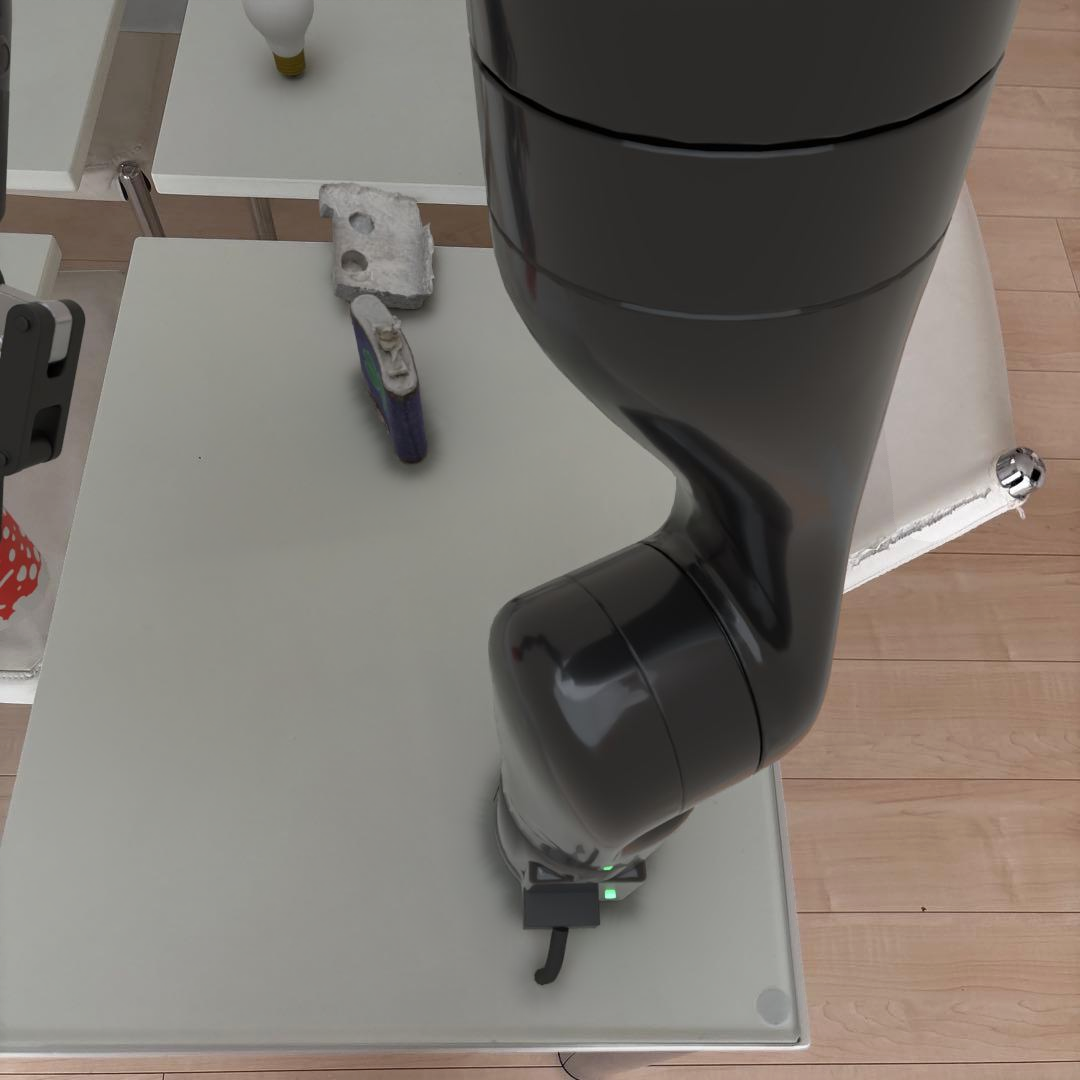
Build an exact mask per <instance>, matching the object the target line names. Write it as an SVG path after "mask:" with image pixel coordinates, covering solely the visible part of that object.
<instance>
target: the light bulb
mask: <svg viewBox="0 0 1080 1080" xmlns="http://www.w3.org/2000/svg"><path fill="white" fill-rule="evenodd" d="M241 2H242V7H243V10H244V13H245V15H246V17H247V20H248V21H249V22H250V24H251V25H252V26H253V28H254V29H255V30H256V31H257V32H258V33H259V34H261V35H262V36H263V38H264V39H265V41H266V44H267V46H268V47H269V49H270V50H271V52H272V55H273V59H274V62H275V67H276V69H277V72H278V73H280V74H282V75H283V76H289V77H296V76H298V75H299V74H301V73H303V72H304V71H305V69H306V67H307V66H306V65H307V64H306V57H305V49H304V47H305V41H306V33H307V31H308V28H309V26H310V24H311V23H312V20H313V18H314V17H313V16H314V12H315V11H314V10H315V0H241Z"/></svg>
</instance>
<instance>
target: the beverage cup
mask: <svg viewBox="0 0 1080 1080" xmlns="http://www.w3.org/2000/svg"><path fill="white" fill-rule="evenodd" d="M1 527H2V540H1V542H0V631H2V630H7V629H9V628H13V627H15V626H16V625H17V624H20V623H21V622H22V621H24V620H25V619H27V618H28V617H29V616H32V614H33V613H34V612H35V610H37V608H38V607H39V605H40V604H41V603H42V601H43V600H44V599H45V597H46V593H47V590H48V587H49V584H50V581H51V578H50V570H49V565H48V561H47V559H46V558H45V557H44V555H43V554H42V553H41V551H40V550H39V549H38V548H37V546H36V545H35V544H34V543H33V541H32V539H30V538H29V536H28V535H27V534H26V533H25V531H24V530H23V528H22V527H21V526H20V525H19V524H18V522H17V521H16V520H15V519H14V518H13V516H12V515H11V513H10V512H9V511H8V510H7V509H6V507H5V506H4V505H3V514H2V525H1Z"/></svg>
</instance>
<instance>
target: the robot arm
mask: <svg viewBox="0 0 1080 1080" xmlns="http://www.w3.org/2000/svg"><path fill="white" fill-rule="evenodd" d="M1020 3H1021V0H465V9H466V20H467V29H468V35H469V38H468V39H469V40H468V41H469V49H470V58H471V67H472V77H473V85H474V95H475V105H476V113H477V123H478V132H479V141H480V150H481V159H482V168H483V169H482V170H483V179H484V186H485V194H486V206H487V213H488V214H487V216H488V221H489V228H490V236H491V241H492V249H493V254H494V257H495V261H496V265H497V268H498V271H499V274H500V278H501V280H502V283H503V286H504V290H505V291H506V293H507V295H508V297H509V299H510V301H511V302H512V305H513V307H514V309H515V310H516V312H517V314H518V316H519V318H520V319H521V321H522V322H523V324H524V325H525V328H526V329H527V331H528V332H529V333H530V335H531V336H532V338H533V340H534V341H535V342H536V344H537V345H538V346H539V349H540V350H542V353H544V355H545V356H546V357H547V358H548V360H550V362H551V363H552V364H553V365H554V367H556V368H557V370H558V371H559V372H560V373H561V374H562V375H563V376H564V377H565V378H566V379H567V380H568V381H569V382H570V383H571V384H572V385H573V386H574V387H575V388H576V389H577V390H578V391H579V392H580V393H581V394H582V395H583V396H584V397H585V398H586V399H587V400H588V401H589V402H591V403H592V405H593V406H595V408H597V409H598V411H600V413H602V414H603V415H604V416H605V417H606V418H607V419H608V420H609V421H610V422H612V424H614V425H615V426H616V427H618V428H619V429H620V430H621V431H622V432H624V433H625V434H626V435H627V436H628V437H629V438H631V439H632V440H633V441H635V442H636V443H637V444H638V445H640V446H641V447H642V448H643V449H644V450H645V451H647V452H648V453H649V454H651V455H652V456H653V457H654V458H655V459H657V460H658V461H659V462H661V463H662V464H663V465H664V467H666V468H667V469H668V470H669V471H670V472H671V473H672V475H674V477H675V492H674V499H673V503H672V506H671V509H670V512H669V515H668V517H667V518H666V519H665V521H664V522H663V524H662V525H661V526H660V527H659V528H658V529H657V530H656V531H654V532H653V533H652V534H650V535H648V536H646V537H644V538H643V539H640V540H639V541H637V542H634V543H631V544H629V545H627V546H625V547H623V548H621V549H619V550H616V551H614V552H612V553H610V554H607V555H605V556H603V557H601V558H598V559H596V560H594V561H592V562H589V563H587V564H585V565H583V566H580V567H578V568H576V569H573V570H571V571H569V572H567V573H564V574H563V575H560V576H558V577H555V578H553V579H550V580H548V581H545V582H544V583H542V584H540V585H537V586H535V587H532V588H531V589H528V590H526V591H523V592H521V593H520V594H518V595H516V596H514V597H513V598H511V599H509V600H508V601H507V602H506V603H505V604H504V605H502V606H501V608H500V609H499V610H498V611H497V613H496V615H495V616H494V618H493V620H492V623H491V625H490V629H489V634H488V642H487V651H488V652H487V653H488V655H487V656H488V668H489V673H490V674H489V675H490V680H491V685H492V691H493V712H494V721H495V727H496V734H497V739H498V744H499V748H500V754H501V764H500V775H499V784H498V787H497V788H496V792H495V795H494V798H493V801H496V797H497V801H496V806H495V813H494V830H495V831H494V832H495V839H496V843H497V847H498V851H499V853H500V855H501V857H502V861H504V863H505V865H506V867H507V869H508V870H509V871H510V872H511V874H512V875H513V876H514V877H515V878H516V879H517V881H518V882H519V884H520V888H521V901H522V930H523V931H533V930H535V931H536V930H551V934H550V940H549V947H548V952H547V956H546V960H545V964H544V965H543V966H544V967H540V968H538V969H536V971H535V973H534V974H533V975H534V977H533V978H534V982H535V983H536V984H537V985H539V986H544V985H545V986H546V985H549V984H552V983H554V982H555V981H556V979H557V978H558V976H559V975H560V972H561V970H562V967H563V963H564V959H565V954H566V948H567V942H568V937H569V931H570V930H584V929H585V930H587V929H590V930H591V929H597V928H599V926H601V911H600V902H605V901H606V902H609V901H611V902H612V901H613V902H614V901H615V902H616V901H622V900H623V899H625V898H626V897H628V896H629V895H630V894H631V893H633V892H634V891H635V890H637V889H638V888H639V887H640V886H642V885H643V884H644V883H646V881H647V880H648V868H647V867H648V866H647V858H648V857H649V856H651V854H653V852H655V851H656V850H657V849H658V848H659V847H661V845H662V844H664V843H665V842H666V841H667V840H668V839H670V838H671V837H672V836H673V835H675V833H676V832H677V831H679V829H681V827H683V825H684V824H685V823H686V822H687V820H688V819H689V818H690V816H691V815H692V813H693V812H694V811H695V809H696V807H697V806H698V805H700V804H703V803H705V802H706V801H708V800H710V799H712V798H713V797H715V796H717V795H719V794H721V793H723V792H725V791H726V790H729V789H730V788H733V787H734V786H736V785H738V784H740V783H742V782H744V781H745V780H747V779H749V778H751V776H754V775H756V774H758V773H759V772H761V771H762V770H764V769H766V768H768V767H769V766H771V765H773V764H775V763H776V762H778V761H779V760H781V759H782V758H784V757H785V756H786V755H788V754H789V753H790V752H791V751H793V749H795V748H796V747H797V746H798V745H799V744H800V743H801V742H802V741H803V740H804V739H805V738H806V737H807V736H808V734H809V733H810V732H811V730H812V728H813V727H814V725H815V724H816V721H817V720H818V717H819V716H820V715H819V714H820V712H821V710H822V707H823V705H824V701H825V698H826V696H827V691H828V687H829V684H830V683H829V682H830V678H831V673H832V668H833V662H834V656H835V649H836V645H837V636H838V631H839V625H840V616H841V610H842V604H843V597H844V589H845V584H846V577H847V572H848V564H849V559H850V553H851V546H852V542H853V538H854V532H855V527H856V522H857V519H858V515H859V511H860V508H861V505H862V500H863V497H864V493H865V490H866V487H867V483H868V479H869V477H870V473H871V470H872V466H873V463H874V460H875V459H874V458H875V456H876V452H877V448H878V445H879V441H880V437H881V434H882V431H883V427H884V423H885V419H886V416H887V412H888V409H889V404H890V401H891V398H892V394H893V391H894V387H895V383H896V379H897V376H898V373H899V369H900V365H901V363H902V358H903V355H904V352H905V348H906V346H907V341H908V339H909V336H910V334H911V330H912V327H913V324H914V321H915V319H916V315H917V312H918V310H919V306H920V304H921V301H922V299H923V297H924V293H925V292H926V288H927V286H928V283H929V280H930V278H931V275H932V273H933V270H934V268H935V265H936V262H937V260H938V257H939V254H940V253H941V252H940V251H941V249H942V246H943V243H944V241H945V239H946V235H947V233H948V230H949V226H950V224H951V221H952V220H953V215H954V213H955V210H956V207H957V204H958V202H959V201H958V200H959V198H960V194H961V192H962V189H963V186H964V182H965V179H966V176H967V173H968V169H969V167H970V164H971V161H972V157H973V154H974V151H975V148H976V145H977V142H978V138H979V136H980V133H981V130H982V126H983V123H984V121H985V117H986V114H987V110H988V108H989V104H990V101H991V98H992V95H993V92H994V89H995V86H996V83H997V80H998V76H999V73H1000V70H1001V67H1002V64H1003V62H1004V59H1005V54H1006V53H1005V52H1006V49H1007V47H1008V44H1009V42H1010V39H1011V36H1012V33H1013V29H1014V25H1015V22H1016V18H1017V14H1018V11H1019V8H1020ZM12 33H13V0H0V223H1V222H2V221H3V218H5V214H6V210H7V207H6V206H7V182H8V180H7V179H8V155H9V154H8V153H9V151H8V149H9V127H10V126H9V125H10V96H11V91H10V88H11V87H10V85H11V64H12V63H11V59H12V58H11V57H12V38H13V37H12ZM85 327H86V313H85V311H84V309H83V308H82V306H81V305H80V304H79V303H78V302H77V301H75V300H73V299H70V298H63V299H43V298H41V297H38V296H36V295H33V294H31V293H28V292H25V291H23V290H20V289H18V288H15V287H12V286H10V285H7V284H6V281H5V277H4V275H3V273H2V270H1V269H0V542H1V540H2V527H1V525H2V514H3V506H4V485H5V484H4V482H5V477H9V476H12V475H16V474H18V473H20V472H22V471H23V470H26V469H29V468H31V467H34V466H38V465H40V464H44V463H49V462H51V461H54V460H56V459H58V458H59V457H60V455H61V454H62V451H63V448H64V447H63V446H64V440H65V436H66V430H67V425H68V420H69V413H70V408H71V402H72V397H73V392H74V386H75V381H76V376H77V370H78V365H79V358H80V355H81V350H82V343H83V338H84V332H85Z"/></svg>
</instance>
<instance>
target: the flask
mask: <svg viewBox="0 0 1080 1080" xmlns="http://www.w3.org/2000/svg"><path fill="white" fill-rule="evenodd" d="M349 314H350V315H349V316H350V318H351V324H352V327H353V332H354V337H355V342H356V346H357V352H358V353H357V354H358V358H359V364H360V370H361V378H362V382H363V385H364V387H365V389H366V393H367V396H370V397H371V399H372V401H373V404H374V406H375V411H376V413H377V414H376V416H378V419H379V421H381V423H383V424H384V425H386V428H387V430H386V432H385V433H386V434H388V435H389V437H390V438H391V443H392V444H391V446H392V447H393V452H394V453H395V455H396V459H397V460H398V461H400V462H402V463H404V464H406V465H408V466H409V467H412V465H417V464H420V463H422V462H423V461H424V460H425V459H427V456H428V452H429V450H428V440H427V437H426V433H425V425H424V424H425V423H424V418H423V417H424V416H423V407H422V399H421V389H420V379H419V375H418V370H417V366H416V362H415V358H414V357H415V356H414V355H413V352H412V349H411V346H410V344H409V342H408V339H407V338H406V335H405V334H404V332H403V330H402V328H401V327H402V321H401V319H398V317H397V316H396V315H394V314H393V313H391V310H390V309H389V307H386V306H385V305H384V304H383V302H382V301H381V300H380V299H379V298H377V297H376V296H374V295H367V294H365V295H359V296H357V297H356V298H355V299H354V300H353V301H350V303H349Z"/></svg>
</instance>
